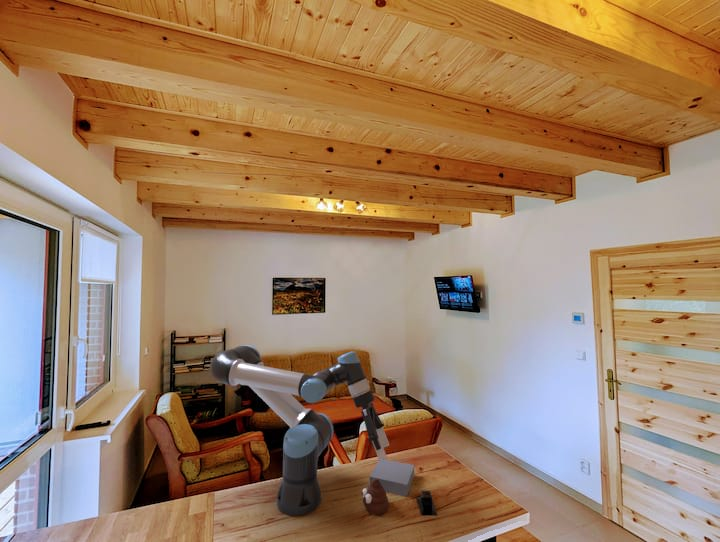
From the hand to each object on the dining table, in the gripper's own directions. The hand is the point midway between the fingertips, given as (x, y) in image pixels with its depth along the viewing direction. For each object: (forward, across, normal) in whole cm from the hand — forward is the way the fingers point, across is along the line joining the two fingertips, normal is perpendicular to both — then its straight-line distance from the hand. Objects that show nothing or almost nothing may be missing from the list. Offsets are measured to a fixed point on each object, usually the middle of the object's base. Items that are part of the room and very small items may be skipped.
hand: (384, 452), depth 117 cm
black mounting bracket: (+21, +1, -6) cm, 22 cm away
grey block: (+13, +12, +4) cm, 18 cm away
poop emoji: (+14, -3, +9) cm, 17 cm away
